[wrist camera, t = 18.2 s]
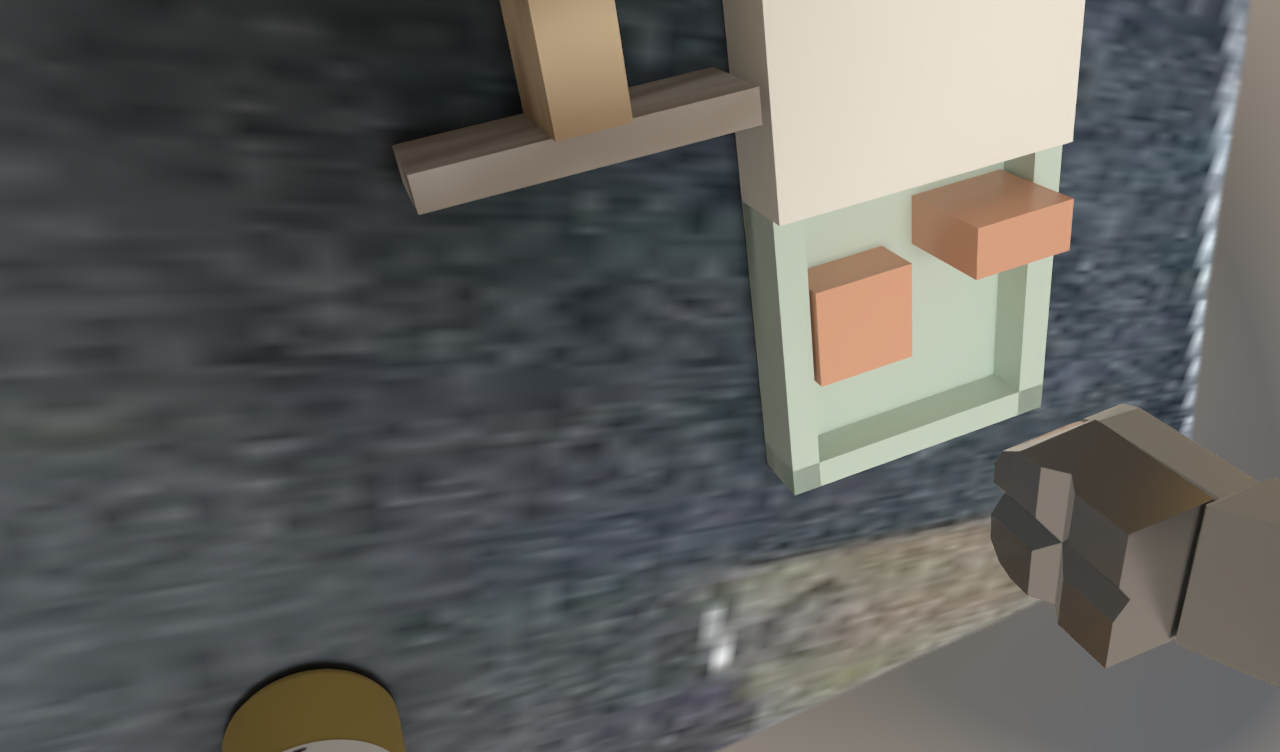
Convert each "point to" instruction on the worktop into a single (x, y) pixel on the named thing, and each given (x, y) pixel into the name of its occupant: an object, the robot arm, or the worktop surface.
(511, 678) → the worktop surface
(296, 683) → the paper tube
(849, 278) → the tile
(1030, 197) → the tile
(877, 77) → the board
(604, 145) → the scraper
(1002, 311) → the tray
